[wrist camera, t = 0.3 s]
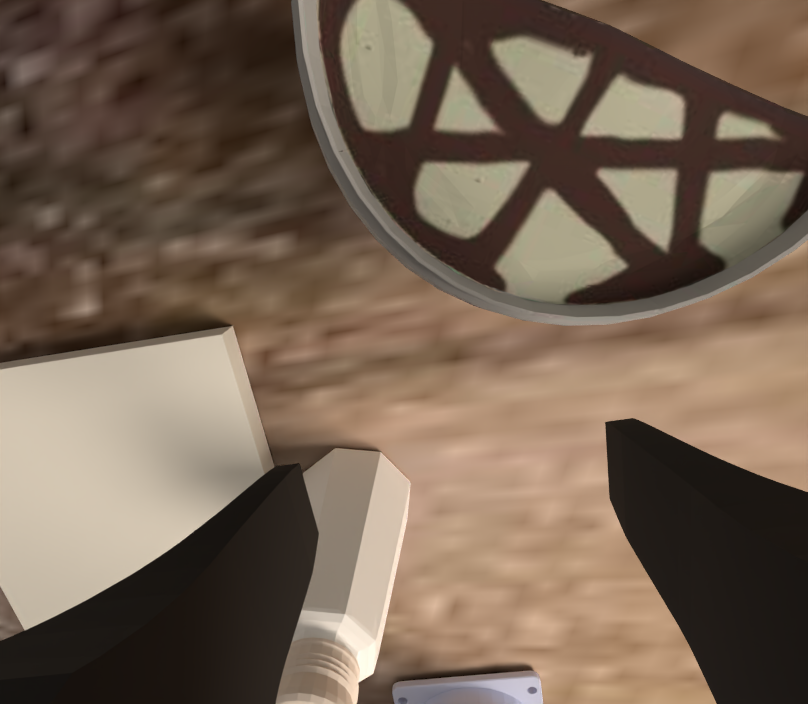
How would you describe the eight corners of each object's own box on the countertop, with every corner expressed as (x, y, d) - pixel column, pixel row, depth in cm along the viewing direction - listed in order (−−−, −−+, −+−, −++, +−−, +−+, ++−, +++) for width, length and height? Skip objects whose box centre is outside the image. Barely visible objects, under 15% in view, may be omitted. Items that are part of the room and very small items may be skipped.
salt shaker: (281, 461, 24) (167, 688, 13) (392, 430, 23) (362, 647, 12) (324, 551, 25) (252, 816, 15) (428, 526, 24) (428, 787, 14)
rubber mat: (326, 642, 27) (322, 662, 26) (70, 666, 29) (55, 686, 28) (232, 325, 21) (221, 334, 20) (-84, 376, 23) (-110, 386, 22)
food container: (308, 198, 20) (197, 224, 10) (357, 24, 18) (276, -144, 8) (597, 308, 21) (741, 425, 11) (677, 155, 18) (935, 140, 9)
